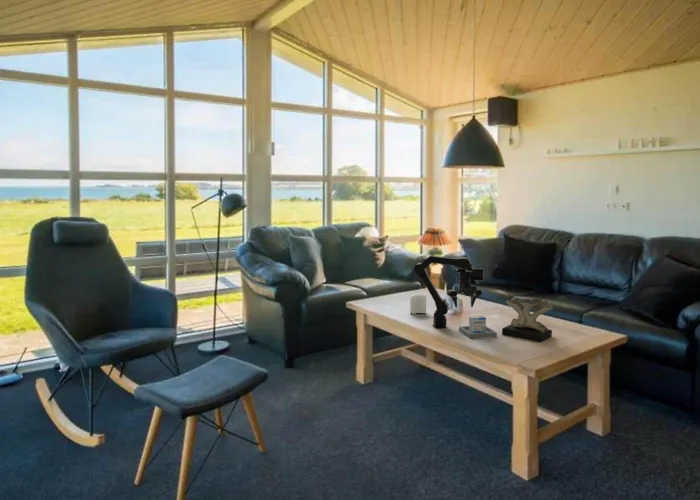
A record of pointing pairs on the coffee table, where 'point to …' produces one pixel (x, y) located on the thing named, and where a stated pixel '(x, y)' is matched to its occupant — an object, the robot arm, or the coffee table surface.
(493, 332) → the tray
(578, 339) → the coffee table surface
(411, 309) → the photo printer
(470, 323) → the medicine box
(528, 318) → the coral
